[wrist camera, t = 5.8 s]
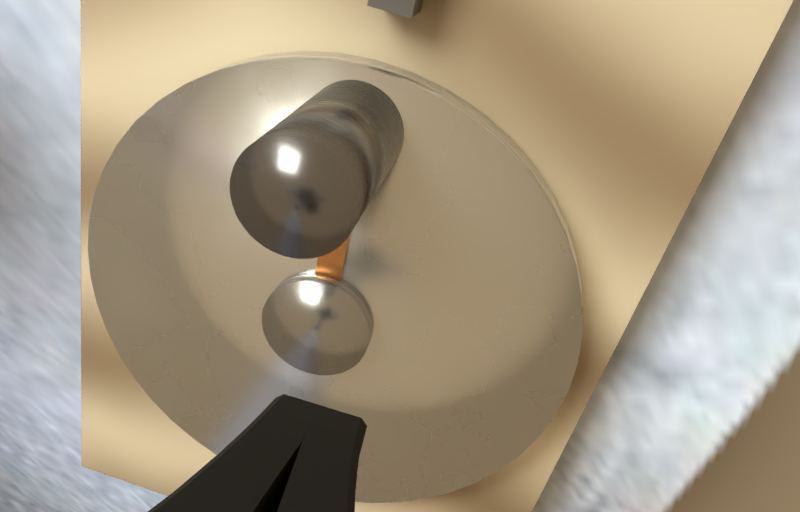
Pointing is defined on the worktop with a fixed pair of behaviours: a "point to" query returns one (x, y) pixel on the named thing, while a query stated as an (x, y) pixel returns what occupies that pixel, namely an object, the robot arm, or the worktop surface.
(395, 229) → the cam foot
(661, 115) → the stand plate
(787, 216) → the worktop surface
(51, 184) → the worktop surface
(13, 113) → the worktop surface
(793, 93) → the worktop surface
